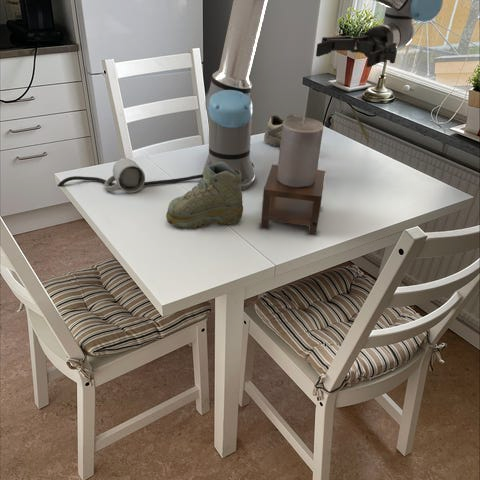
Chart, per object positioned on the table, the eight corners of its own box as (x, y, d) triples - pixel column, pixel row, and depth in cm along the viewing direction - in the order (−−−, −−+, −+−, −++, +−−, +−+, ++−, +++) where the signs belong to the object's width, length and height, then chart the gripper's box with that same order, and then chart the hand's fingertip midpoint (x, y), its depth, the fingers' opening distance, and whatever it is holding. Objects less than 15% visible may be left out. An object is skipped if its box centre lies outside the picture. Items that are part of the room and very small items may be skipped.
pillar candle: (285, 168, 131) (291, 108, 122) (321, 176, 128) (330, 116, 119) (270, 182, 124) (276, 120, 115) (307, 191, 121) (316, 128, 112)
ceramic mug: (137, 178, 147) (134, 152, 142) (146, 190, 141) (144, 164, 136) (101, 185, 143) (97, 158, 138) (109, 197, 138) (105, 170, 133)
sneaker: (170, 206, 134) (168, 153, 124) (242, 211, 134) (246, 159, 124) (164, 230, 127) (161, 176, 116) (241, 236, 127) (245, 182, 116)
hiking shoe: (308, 155, 160) (319, 116, 157) (254, 144, 170) (264, 108, 168) (320, 162, 167) (331, 125, 165) (268, 151, 178) (278, 116, 176)
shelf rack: (260, 227, 128) (263, 189, 121) (269, 201, 140) (272, 164, 133) (315, 235, 127) (322, 196, 120) (319, 207, 138) (325, 170, 131)
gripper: (421, 65, 131) (388, 82, 118) (335, 48, 142) (296, 62, 128) (429, 33, 126) (395, 46, 113) (340, 18, 137) (299, 29, 124)
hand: (342, 55), depth 121 cm, fingers open, 13 cm apart
